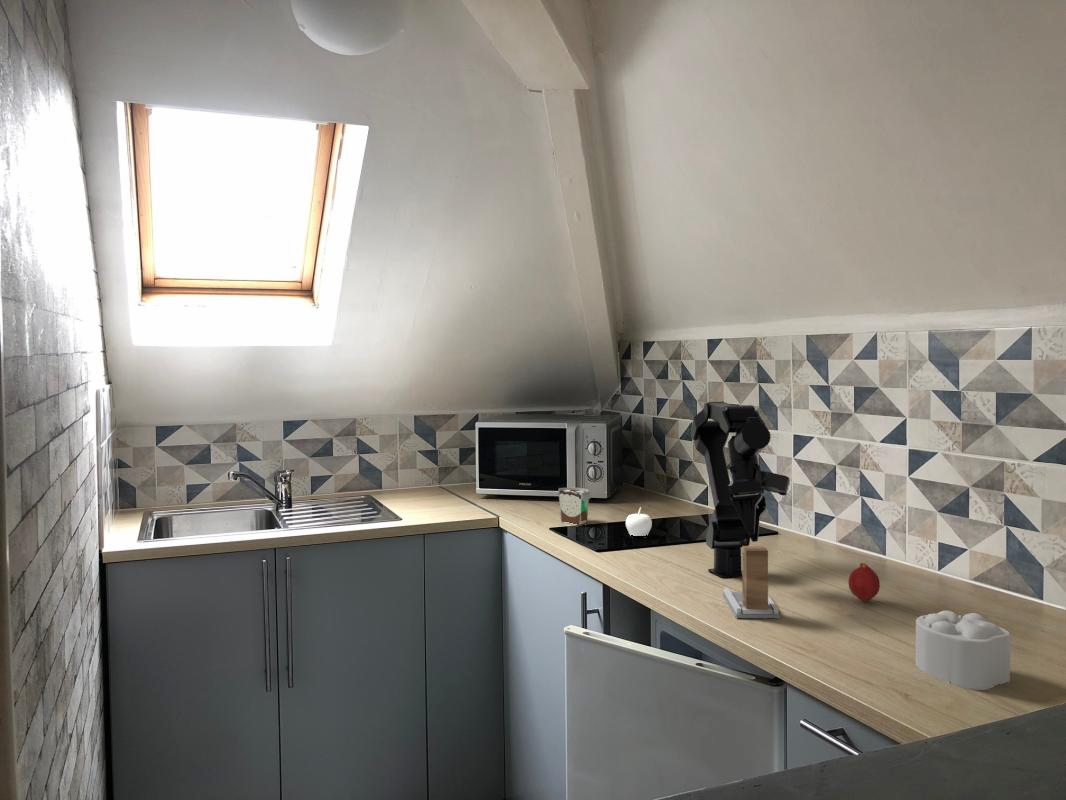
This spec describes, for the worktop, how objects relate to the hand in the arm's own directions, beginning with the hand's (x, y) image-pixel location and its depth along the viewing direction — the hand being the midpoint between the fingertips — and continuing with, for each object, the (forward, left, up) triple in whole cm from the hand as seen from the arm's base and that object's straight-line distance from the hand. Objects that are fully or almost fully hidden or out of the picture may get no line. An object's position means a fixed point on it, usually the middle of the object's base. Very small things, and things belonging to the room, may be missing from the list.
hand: (753, 537), depth 172 cm
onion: (+11, +18, -12) cm, 25 cm away
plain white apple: (-61, +4, -13) cm, 63 cm away
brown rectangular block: (+10, -6, -12) cm, 17 cm away
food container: (-85, -4, -13) cm, 86 cm away
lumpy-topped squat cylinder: (+46, +6, -13) cm, 48 cm away
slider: (+5, -4, -12) cm, 14 cm away
